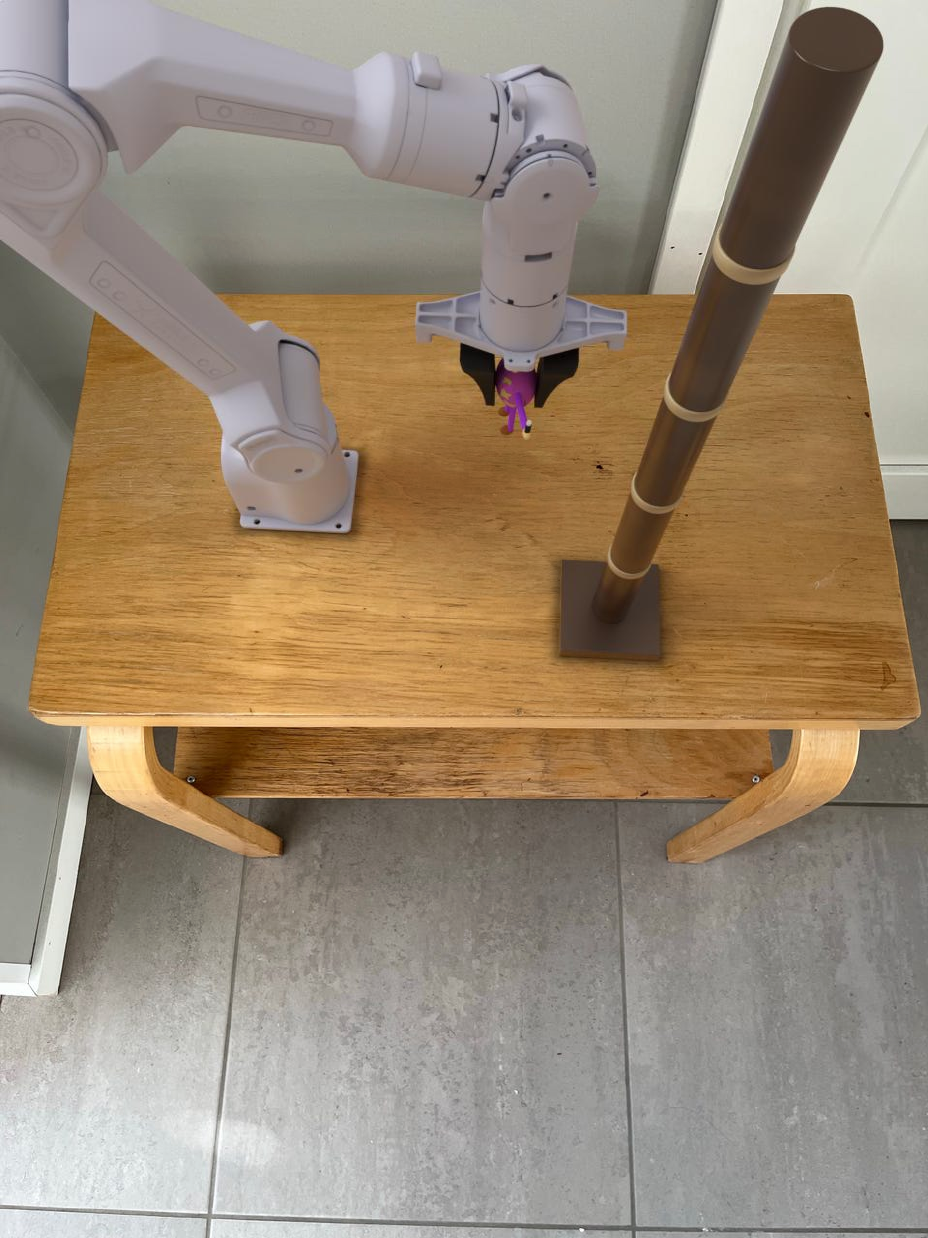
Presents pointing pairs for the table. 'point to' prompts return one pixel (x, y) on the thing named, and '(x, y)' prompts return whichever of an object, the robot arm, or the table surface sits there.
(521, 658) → the table surface
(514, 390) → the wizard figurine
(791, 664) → the table surface
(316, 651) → the table surface
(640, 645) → the measuring staff
